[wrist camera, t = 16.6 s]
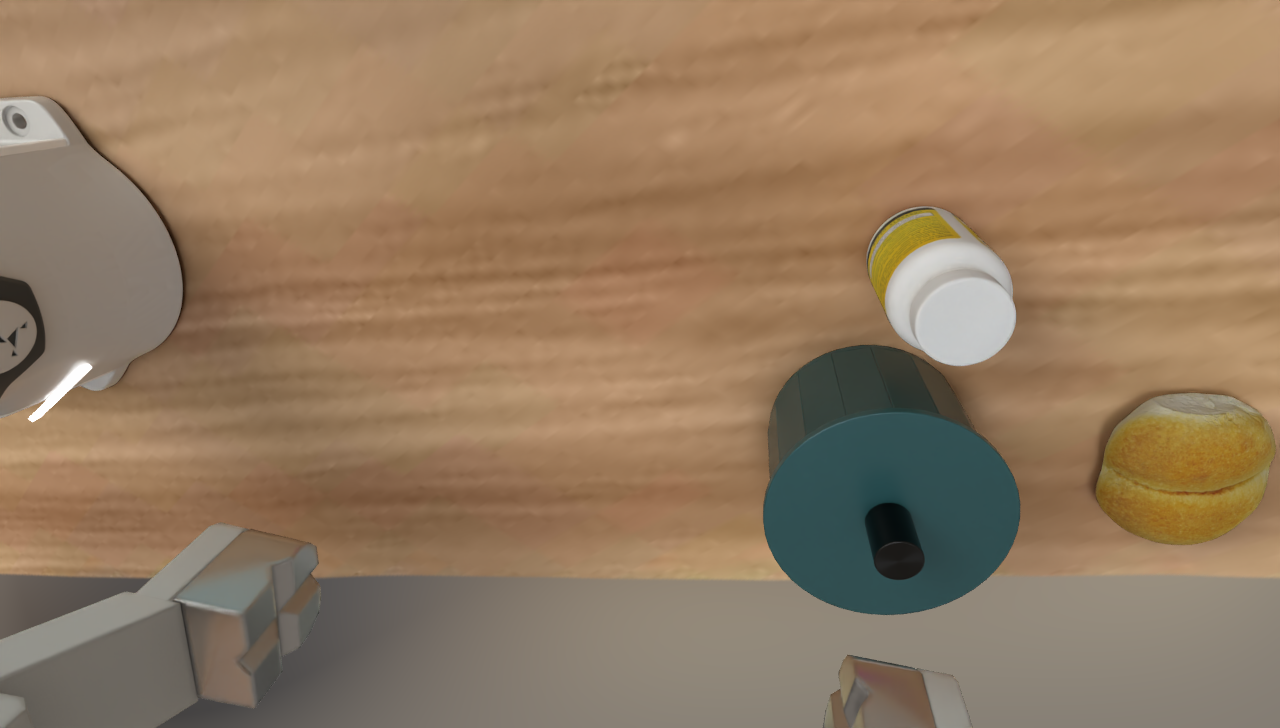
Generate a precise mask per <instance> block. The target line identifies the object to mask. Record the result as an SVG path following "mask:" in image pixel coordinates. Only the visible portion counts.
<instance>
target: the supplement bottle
mask: <svg viewBox="0 0 1280 728" xmlns="http://www.w3.org/2000/svg"><path fill="white" fill-rule="evenodd" d="M867 271H868V275H869V278H870V280H871V283H872V285H873V287H874V289H875V292H876V294H877V296H878V298H879V300H880V302H881V304H882V307H883V309H884V311H885V313H886V316H887V318H888V320H889V322H890V323H891V325H892V327H893V328H894V330H895V331H896V333H897V334H898V335H899V336H900V337H901V338H902V339H903V340H904V341H906V342H907V343H908V344H910V345H912V346H913V347H915V348H917V349H919V350H922V351H924V352H925V353H926V354H927V355H929V356H930V357H931V358H933V359H934V360H936V361H938V362H941V363H944V364H947V365H952V366H966V365H972V364H976V363H979V362H982V361H985V360H987V359H988V358H990V357H992V356H993V355H995V354H996V353H997V352H999V351H1000V350H1001V349H1002V348H1003V347H1004V346H1005V345H1006V343H1007V342H1008V340H1009V339H1010V337H1011V335H1012V333H1013V331H1014V328H1015V324H1016V309H1015V305H1014V302H1013V300H1012V297H1013V286H1012V280H1011V276H1010V273H1009V271H1008V269H1007V267H1006V266H1005V264H1004V262H1003V261H1002V260H1001V259H1000V258H999V256H998V255H997V254H996V253H995V252H994V251H993V250H991V249H990V247H988V246H987V245H986V244H985V243H984V242H983V241H982V240H981V239H980V238H979V237H978V236H977V235H976V234H975V233H974V232H973V231H972V230H971V229H970V228H969V227H968V226H967V225H966V224H965V223H964V222H963V221H962V220H960V219H959V218H958V217H957V216H955V215H954V214H952V213H950V212H948V211H946V210H944V209H941V208H937V207H929V206H921V207H914V208H910V209H906V210H904V211H901V212H899V213H897V214H895V215H894V216H892V217H890V218H889V219H888V220H887V221H885V222H884V223H883V224H882V225H881V226H880V227H879V229H878V230H877V231H876V233H875V234H874V236H873V238H872V240H871V242H870V245H869V248H868V252H867Z"/></svg>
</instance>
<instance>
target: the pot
mask: <svg viewBox="0 0 1280 728" xmlns="http://www.w3.org/2000/svg"><path fill="white" fill-rule="evenodd" d="M881 408H910V409H918V410H925V411H929V412H933V413H937V414H941V415H943V416H946V417H949V418H951V419H954V420H957V421H959V422H960V423H962V424H964V425H966V426H968V427H970V428H972V429H973V430H974V431H976V430H975V428H974V426H973V424H972V422H971V421H970V419H969V417H968V415H967V414H966V412H965V410H964V408H963V406H962V405H961V403H960V401H959V400H958V398H957V397H956V395H955V393H954V392H953V390H952V389H951V387H950V385H949V384H948V382H947V381H946V380H945V378H944V376H943V375H942V374H941V373H940V372H938V371H937V370H936V369H935V368H934V367H933V366H931V365H930V364H929V363H927V362H926V361H924V360H923V359H921V358H919V357H917V356H915V355H913V354H911V353H908V352H906V351H903V350H900V349H896V348H892V347H887V346H878V345H860V346H851V347H846V348H842V349H837V350H834V351H832V352H829V353H826V354H824V355H822V356H820V357H818V358H816V359H814V360H812V361H811V362H809V363H808V364H806V365H804V366H803V367H802V368H801V369H799V370H798V371H797V372H796V373H795V374H794V375H793V376H792V377H791V378H790V379H789V380H788V381H787V382H786V384H785V385H784V387H783V388H782V389H781V391H780V392H779V394H778V396H777V398H776V400H775V402H774V405H773V408H772V412H771V417H770V422H769V428H768V450H769V473H770V478H771V476H772V474H773V473H774V471H775V469H776V467H777V465H778V464H779V463H780V461H781V460H782V459H783V457H784V456H785V455H786V454H787V453H788V451H789V450H790V449H791V448H792V447H793V446H794V445H795V444H796V443H798V442H799V441H800V440H801V439H803V438H804V437H805V436H806V435H808V434H809V433H811V432H812V431H814V430H816V429H817V428H819V427H820V426H822V425H824V424H826V423H829V422H831V421H833V420H835V419H837V418H840V417H843V416H846V415H849V414H852V413H856V412H861V411H866V410H871V409H881ZM976 432H977V431H976Z"/></svg>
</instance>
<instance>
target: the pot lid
mask: <svg viewBox="0 0 1280 728" xmlns="http://www.w3.org/2000/svg"><path fill="white" fill-rule="evenodd" d="M1019 521H1020V499H1019V492H1018V488H1017V485H1016V482H1015V479H1014V477H1013V475H1012V473H1011V471H1010V469H1009V467H1008V465H1007V464H1006V462H1005V460H1004V459H1003V458H1002V456H1001V455H1000V454H999V452H998V451H997V450H996V448H995V447H994V446H992V445H991V444H990V443H989V442H988V441H987V440H986V439H985V438H984V437H983V436H981V435H980V434H979V433H977V432H976V431H974V430H973V429H972V428H970V427H968V426H966V425H964V424H962V423H960V422H959V421H957V420H954V419H951V418H949V417H946V416H943V415H941V414H937V413H933V412H929V411H925V410H918V409H910V408H881V409H871V410H866V411H861V412H856V413H852V414H849V415H846V416H843V417H840V418H837V419H835V420H833V421H831V422H829V423H826V424H824V425H822V426H820V427H819V428H817V429H816V430H814V431H812V432H811V433H809V434H808V435H806V436H805V437H804V438H803V439H801V440H800V441H799V442H798V443H796V444H795V445H794V446H793V447H792V448H791V449H790V450H789V451H788V453H787V454H786V455H785V456H784V457H783V459H782V460H781V461H780V463H779V464H778V465H777V467H776V469H775V471H774V473H773V474H772V476H771V478H770V481H769V484H768V487H767V489H766V493H765V498H764V504H763V523H764V530H765V536H766V539H767V542H768V545H769V548H770V550H771V552H772V554H773V556H774V558H775V560H776V561H777V563H778V564H779V566H780V567H781V568H782V570H783V571H784V572H785V573H786V574H787V575H788V576H789V577H790V579H791V580H792V581H794V582H795V583H796V584H797V585H798V586H800V587H801V588H802V589H803V590H805V591H807V592H808V593H810V594H811V595H813V596H814V597H816V598H818V599H820V600H822V601H824V602H826V603H829V604H831V605H834V606H837V607H839V608H843V609H847V610H851V611H854V612H860V613H867V614H878V615H879V614H880V615H895V614H907V613H914V612H920V611H924V610H928V609H932V608H935V607H938V606H941V605H944V604H947V603H949V602H951V601H953V600H955V599H958V598H960V597H962V596H963V595H965V594H966V593H968V592H970V591H972V590H973V589H975V588H976V587H977V586H979V585H980V584H981V583H982V582H984V581H985V580H986V579H987V578H988V577H989V576H990V575H991V574H992V573H993V572H994V571H995V570H996V569H997V568H998V567H999V565H1000V564H1001V563H1002V561H1003V560H1004V559H1005V558H1006V556H1007V554H1008V552H1009V550H1010V549H1011V547H1012V545H1013V542H1014V540H1015V537H1016V534H1017V531H1018V526H1019Z"/></svg>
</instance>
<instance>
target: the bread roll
mask: <svg viewBox="0 0 1280 728" xmlns="http://www.w3.org/2000/svg"><path fill="white" fill-rule="evenodd" d="M1275 451H1276V445H1275V441H1274V437H1273V433H1272V430H1271V428H1270V426H1269V424H1268V422H1267V420H1266V419H1265V418H1263V417H1262V415H1261V414H1260V413H1259V412H1258V411H1257V410H1256V409H1254V408H1252V407H1250V406H1248V405H1247V404H1245V403H1243V402H1241V401H1238V400H1237V399H1235V398H1233V397H1229V396H1226V395H1209V394H1201V393H1180V394H1170V395H1163V396H1157V397H1154V398H1151V399H1149V400H1147V401H1146V402H1144V403H1143V404H1141V405H1140V406H1139V407H1137V408H1136V409H1135V410H1134V411H1133V412H1132V413H1130V414H1129V415H1128V416H1127V417H1126V418H1124V419H1123V420H1122V421H1121V422H1120V423H1119V424H1118V425H1117V426H1116V427H1115V428H1114V430H1113V431H1112V433H1111V436H1110V438H1109V440H1108V443H1107V445H1106V447H1105V452H1104V460H1103V464H1102V470H1101V472H1100V475H1099V478H1098V481H1097V485H1096V498H1097V501H1098V503H1099V505H1100V506H1101V508H1102V509H1103V511H1104V512H1105V513H1106V514H1107V515H1108V516H1109V517H1110V518H1111V519H1112V520H1113V521H1114V522H1116V523H1117V524H1118V525H1119V526H1121V527H1122V528H1124V529H1125V530H1127V531H1128V532H1130V533H1133V534H1135V535H1137V536H1140V537H1142V538H1145V539H1148V540H1151V541H1154V542H1158V543H1164V544H1171V545H1192V544H1198V543H1203V542H1206V541H1210V540H1213V539H1216V538H1218V537H1220V536H1222V535H1224V534H1225V533H1227V532H1229V531H1230V530H1232V529H1233V528H1235V527H1236V526H1237V525H1238V524H1239V523H1241V522H1242V521H1243V520H1245V519H1246V518H1247V517H1248V516H1249V515H1250V514H1251V513H1252V512H1253V511H1254V510H1255V509H1256V508H1257V506H1258V505H1259V503H1260V501H1261V499H1262V497H1263V495H1264V491H1265V488H1266V485H1267V480H1268V474H1269V467H1270V462H1271V461H1272V460H1273V458H1274V455H1275Z"/></svg>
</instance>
